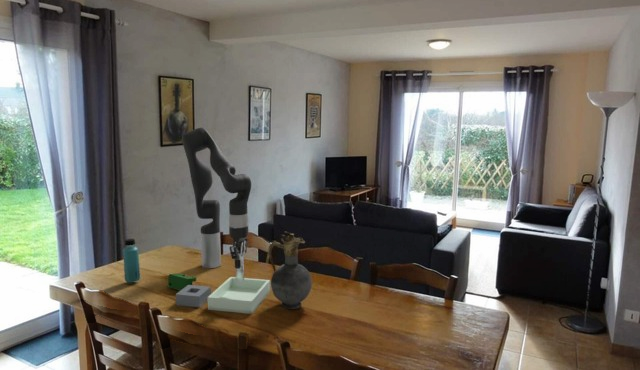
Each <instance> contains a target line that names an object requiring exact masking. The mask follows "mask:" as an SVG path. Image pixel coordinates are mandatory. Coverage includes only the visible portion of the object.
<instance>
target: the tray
mask: <svg viewBox="0 0 640 370" xmlns="http://www.w3.org/2000/svg"><path fill="white" fill-rule="evenodd" d="M270 292H271V279H262V278H261V279H260V278H247V277H244V283H241V284H238V283H236V276H230V277H229V278H228V279H226V280H225V281H224V282H223V283H221V285H220V286H218V287H217V288H216V289H214V290H213V292H211V295H209V296H208V300H207V310H208V311H209V310H210V311H220V312H228V313H229V312H231V313H238V314H239V313H240V314H249V315H253V314H254V312H255V311H256V310H257V309H258V307H259V306H260V305H261V303H263V301H264V300H265V298H266V297H268V295H269V294H270Z"/></svg>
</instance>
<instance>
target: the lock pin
mask: <svg viewBox="0 0 640 370" xmlns="http://www.w3.org/2000/svg"><path fill="white" fill-rule="evenodd" d="M240 259H241V268H239V269H238V268H235V277H236V283H238V284H241V283H244V278H245V268H244V266H245V256H244V257H243V253H241V258H240Z"/></svg>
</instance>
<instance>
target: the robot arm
mask: <svg viewBox="0 0 640 370" xmlns="http://www.w3.org/2000/svg"><path fill="white" fill-rule="evenodd" d="M181 142H182V147H183V149H184V153H185V156H186V158H187V164H188V168H189V175H190V180H191V185H192V188H193V192H194V193H193V194H194V199H195V200H194V201H195V207H196V215H197V217H198V219H202V220H208V219H209V220H212V221H211V222H209V223H207V224H204V225H202V226H201V227H200V245H201V246H200V247H201V248H200V249H201V251H200V252H201V267H202V268H205V269H214V268H215V269H216V268H218V267H220V266H221V265H222V258H221V257H222V256H221V252H222V251H221V248H222V247H221V229H220V227H221V226H220V225H221V224H220V223H221V221H220V217H221V216H220V215H221V213H220V212H221V210H220V209H221V207H220V205H221V204H220V202H219V200H218V199H204V198H205V196H206V195H207V193H208V192H209V190H210V189H211V187H212V186H213V177H212V171H214V173H215V174H216V175H217V176H218V177H219V178H220V182H221V184H222V186H223V188H224V190H225V191H226V192H227V193H230V194H236V196H235V197H233V198H231V199H230V200H229V202H228V204H229V205H228V206H229V207H228V209H229V210H228V214H229V215H228V233H229V234H228V236H229V238H231V239H232V246H229V252H230V256H231V259H232V260H234V268H235V269H236V268H238V269H239V268H241V259H240V258H241V253H243V257H244V258H245V255H246V254H247V252H248V251H247V250H248V243H249V238H248V236H249V216H248V215H249V214H248V201H249V197H250V194H251V190H252V181H251V177H250V176H249V175H247V174H245V173H240V174H236V173H237V172H236V170H237V169H236V168H235V166H234V165H233V164H232V162H230V160H228V159H227V157H226V156H225V155H224V154H223V152H222V150H221V148H220V147H219V146H218V145H217V142H216V141H215V139H213V137H212V136H211V134H210V132H208V130H207V129H206V128H205V127H198V128H194V129H192V130H188V131H186V132H185V133H183V134H182V136H181ZM206 149H208V150H209V164H210V167H211V169H212V170H211V169H210V167H209V166H208V165H207V164H206V163H204V162H203V161H202V160H200V159H199V158H198V157H197V153H198V152H200V151H203V150H206Z"/></svg>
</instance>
